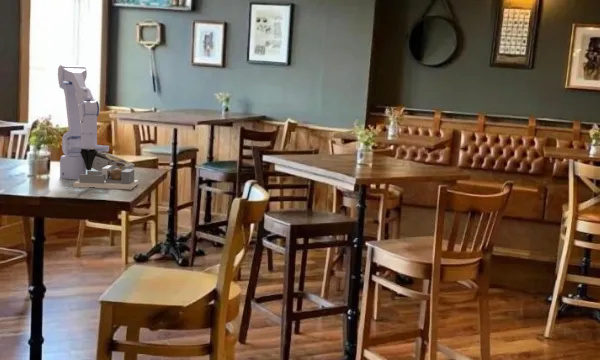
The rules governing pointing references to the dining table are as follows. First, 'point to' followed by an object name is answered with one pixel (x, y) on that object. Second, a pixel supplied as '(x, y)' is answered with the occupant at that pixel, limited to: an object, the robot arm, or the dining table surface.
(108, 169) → the block
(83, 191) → the dining table surface
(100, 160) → the coffee box
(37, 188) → the dining table surface
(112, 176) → the tan brown ball
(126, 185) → the press board
